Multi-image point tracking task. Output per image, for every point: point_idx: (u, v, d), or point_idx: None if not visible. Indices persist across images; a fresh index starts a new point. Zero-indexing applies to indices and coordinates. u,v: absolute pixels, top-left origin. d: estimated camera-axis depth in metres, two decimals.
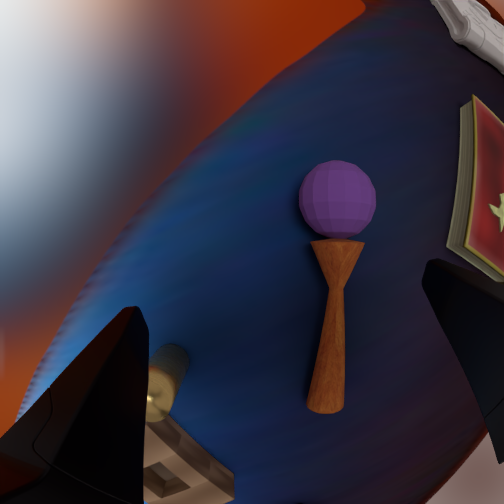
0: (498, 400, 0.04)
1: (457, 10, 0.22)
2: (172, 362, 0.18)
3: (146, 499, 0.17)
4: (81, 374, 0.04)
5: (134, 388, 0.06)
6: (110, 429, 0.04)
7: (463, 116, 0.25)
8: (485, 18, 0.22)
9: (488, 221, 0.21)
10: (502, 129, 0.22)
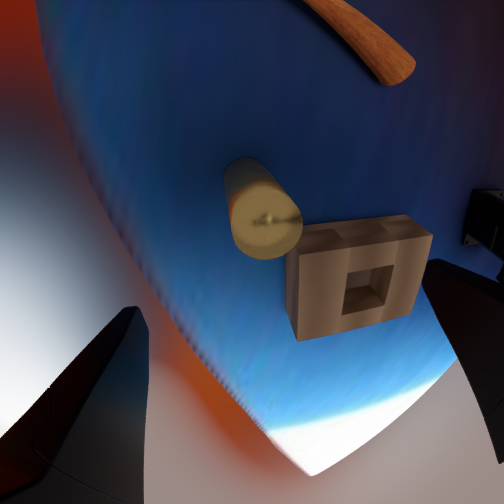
0: (498, 400, 0.04)
1: None
2: (244, 171, 0.15)
3: (376, 320, 0.22)
4: (81, 374, 0.04)
5: (134, 388, 0.06)
6: (110, 429, 0.04)
7: None
8: None
9: None
10: None
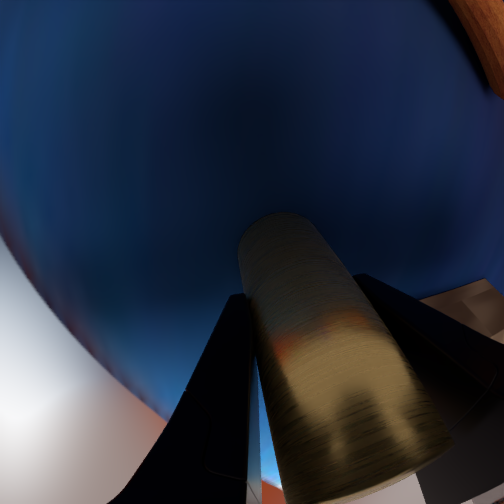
0: None
1: None
2: (297, 282, 0.06)
3: None
4: (226, 368, 0.05)
5: (256, 378, 0.06)
6: (255, 424, 0.04)
7: None
8: None
9: None
10: None
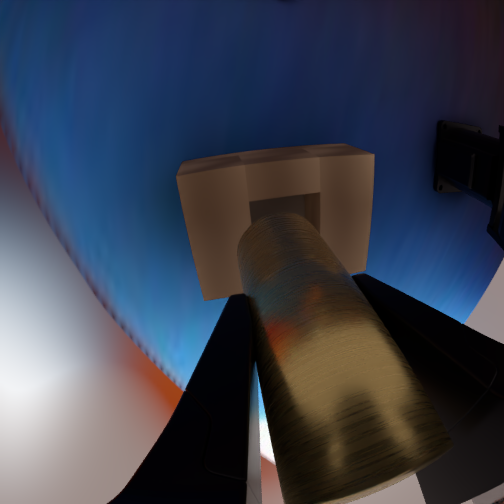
0: None
1: None
2: (296, 283, 0.06)
3: None
4: (226, 368, 0.05)
5: (256, 378, 0.06)
6: (255, 424, 0.04)
7: None
8: None
9: None
10: None
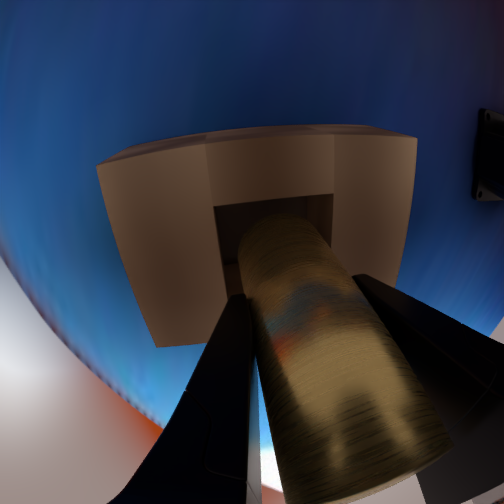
0: None
1: None
2: (298, 284, 0.06)
3: None
4: (226, 368, 0.05)
5: (256, 378, 0.06)
6: (255, 424, 0.04)
7: None
8: None
9: None
10: None
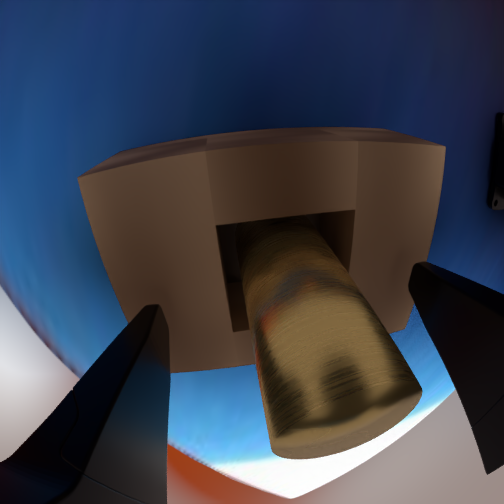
0: (486, 409, 0.04)
1: None
2: (283, 252, 0.07)
3: None
4: (107, 375, 0.04)
5: (158, 387, 0.06)
6: (137, 431, 0.04)
7: None
8: None
9: None
10: None
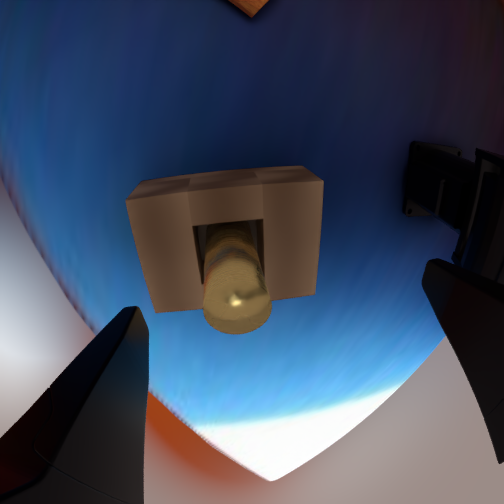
0: (498, 399, 0.04)
1: None
2: (221, 238, 0.15)
3: None
4: (81, 374, 0.04)
5: (134, 388, 0.06)
6: (110, 429, 0.04)
7: None
8: None
9: None
10: None
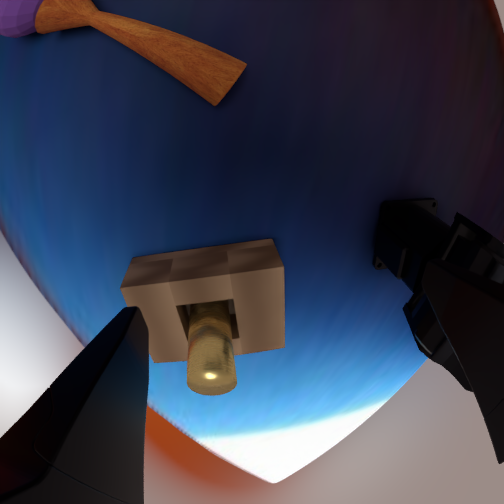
0: (498, 400, 0.04)
1: None
2: (199, 319, 0.18)
3: (236, 352, 0.22)
4: (81, 374, 0.04)
5: (134, 388, 0.06)
6: (110, 429, 0.04)
7: None
8: None
9: None
10: None
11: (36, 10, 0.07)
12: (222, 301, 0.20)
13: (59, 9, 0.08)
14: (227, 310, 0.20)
